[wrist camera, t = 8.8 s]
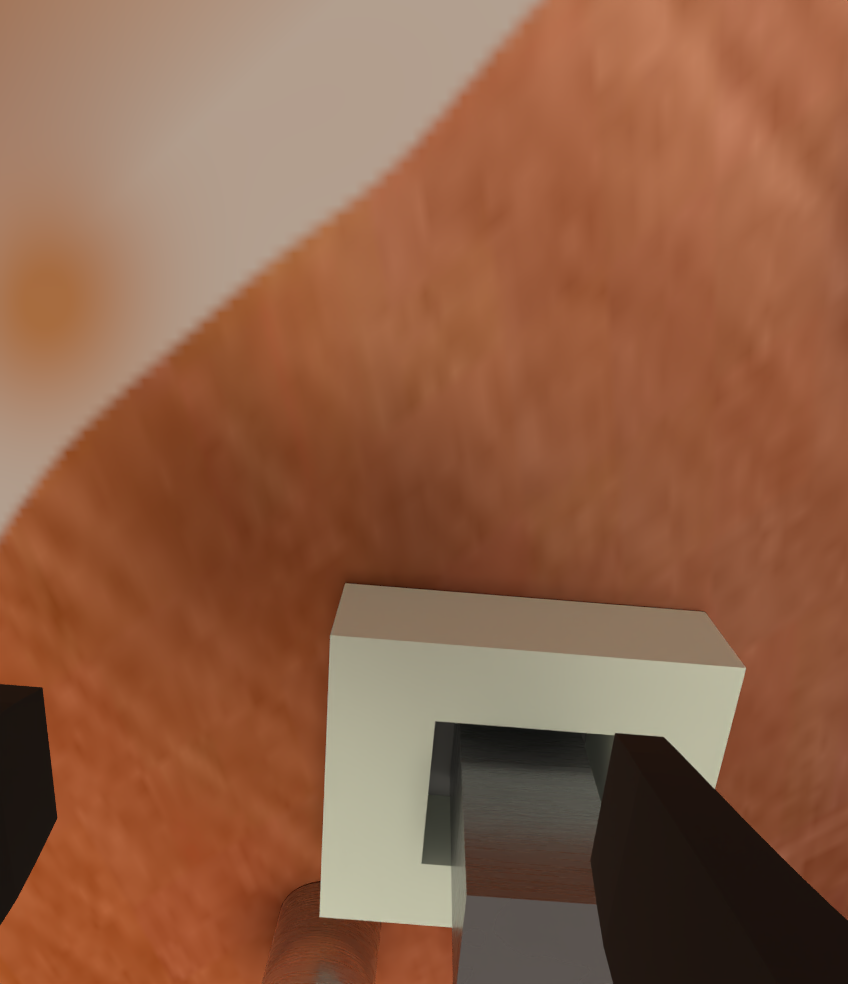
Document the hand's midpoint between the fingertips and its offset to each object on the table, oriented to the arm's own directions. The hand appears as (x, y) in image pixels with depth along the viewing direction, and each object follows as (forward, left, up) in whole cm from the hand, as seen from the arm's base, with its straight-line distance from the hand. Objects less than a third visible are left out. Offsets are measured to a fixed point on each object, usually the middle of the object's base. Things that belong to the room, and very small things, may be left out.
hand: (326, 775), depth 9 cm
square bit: (-4, +7, -10) cm, 13 cm away
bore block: (-4, +7, -10) cm, 13 cm away
